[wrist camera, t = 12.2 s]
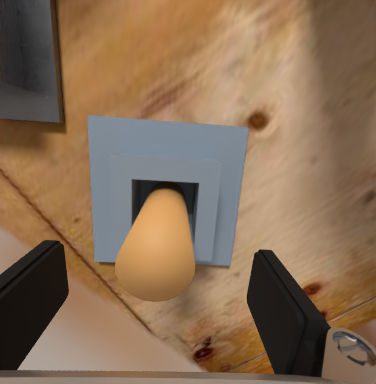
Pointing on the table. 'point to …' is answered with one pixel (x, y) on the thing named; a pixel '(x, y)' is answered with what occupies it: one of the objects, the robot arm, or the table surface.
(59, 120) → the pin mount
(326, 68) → the table surface
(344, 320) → the table surface
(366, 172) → the table surface
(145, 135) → the socket block
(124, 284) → the lock pin
